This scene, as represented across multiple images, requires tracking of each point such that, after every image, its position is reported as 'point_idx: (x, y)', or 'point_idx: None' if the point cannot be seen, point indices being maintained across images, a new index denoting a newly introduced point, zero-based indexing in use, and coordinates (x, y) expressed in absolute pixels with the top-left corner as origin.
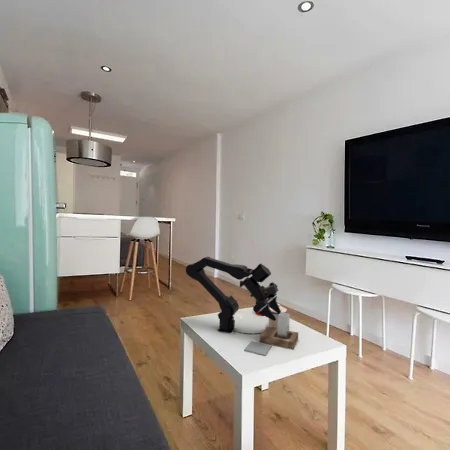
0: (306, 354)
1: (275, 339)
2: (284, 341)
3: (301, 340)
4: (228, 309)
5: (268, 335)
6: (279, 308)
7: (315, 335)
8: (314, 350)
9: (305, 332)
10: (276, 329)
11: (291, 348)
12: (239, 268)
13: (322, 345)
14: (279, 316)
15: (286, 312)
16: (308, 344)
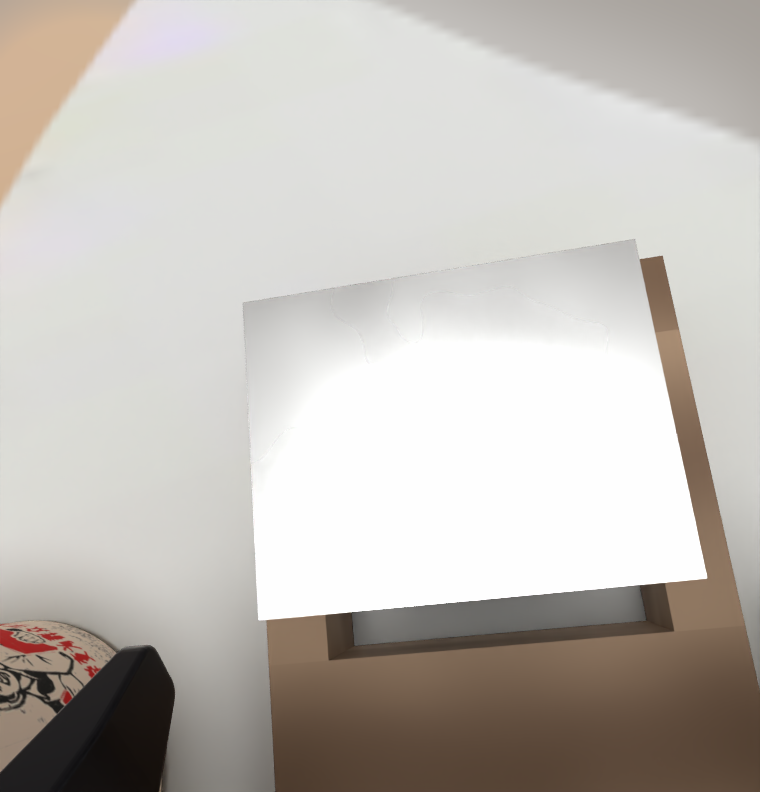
0: (654, 126)
1: (724, 556)
2: (688, 397)
3: None
4: None
5: (685, 731)
6: (14, 769)
7: (63, 215)
8: (485, 92)
9: (28, 343)
10: (325, 688)
11: None
12: None
13: (298, 69)
14: (688, 514)
15: None
16: (364, 197)
